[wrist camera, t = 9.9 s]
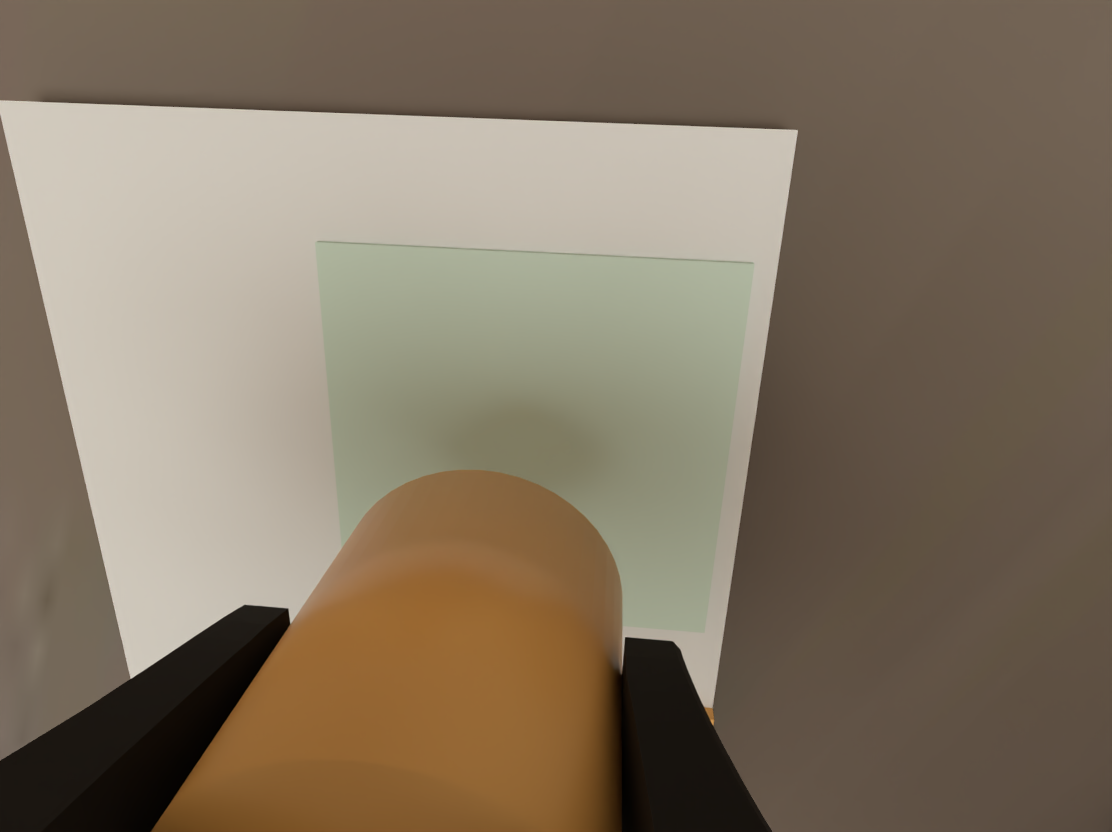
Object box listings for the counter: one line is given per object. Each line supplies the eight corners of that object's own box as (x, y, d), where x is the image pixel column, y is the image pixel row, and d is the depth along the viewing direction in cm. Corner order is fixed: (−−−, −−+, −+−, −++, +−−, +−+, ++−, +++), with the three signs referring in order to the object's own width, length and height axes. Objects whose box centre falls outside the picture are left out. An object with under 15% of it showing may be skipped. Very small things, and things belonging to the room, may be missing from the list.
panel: (685, 831, 22) (690, 882, 21) (183, 779, 23) (153, 824, 22) (785, 130, 15) (802, 130, 13) (41, 102, 16) (-19, 99, 14)
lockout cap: (614, 718, 12) (604, 1233, 6) (353, 695, 12) (127, 1166, 7) (632, 479, 10) (642, 891, 5) (331, 459, 11) (9, 823, 5)
